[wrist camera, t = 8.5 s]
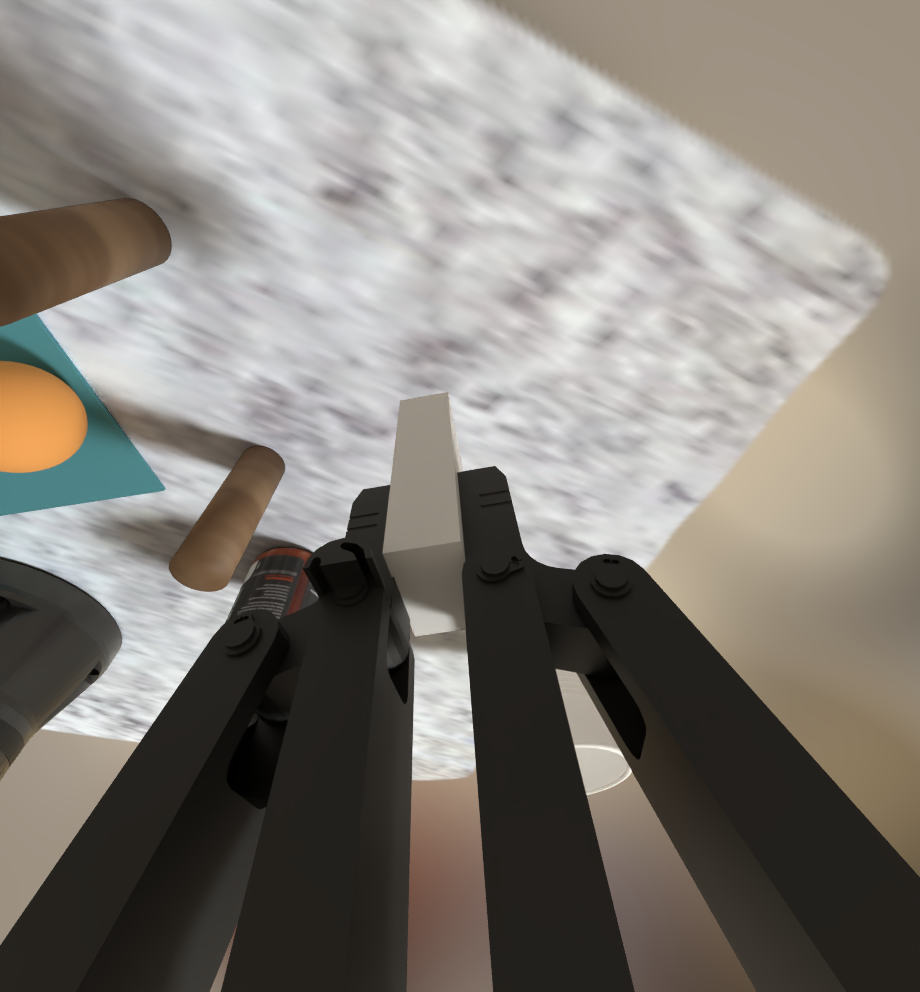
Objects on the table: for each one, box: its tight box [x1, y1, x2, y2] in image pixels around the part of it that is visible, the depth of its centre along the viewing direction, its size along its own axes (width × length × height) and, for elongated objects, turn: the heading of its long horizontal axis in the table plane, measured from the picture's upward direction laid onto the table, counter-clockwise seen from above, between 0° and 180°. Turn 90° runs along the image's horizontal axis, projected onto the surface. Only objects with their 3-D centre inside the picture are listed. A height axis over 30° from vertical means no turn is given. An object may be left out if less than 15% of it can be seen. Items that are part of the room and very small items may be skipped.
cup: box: [556, 669, 632, 795], centre depth 36 cm, size 10×10×11 cm
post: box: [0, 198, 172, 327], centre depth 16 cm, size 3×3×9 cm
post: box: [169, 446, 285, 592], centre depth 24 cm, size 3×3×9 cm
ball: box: [0, 361, 88, 473], centre depth 22 cm, size 6×6×6 cm
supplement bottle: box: [225, 548, 318, 623], centre depth 29 cm, size 6×6×11 cm
